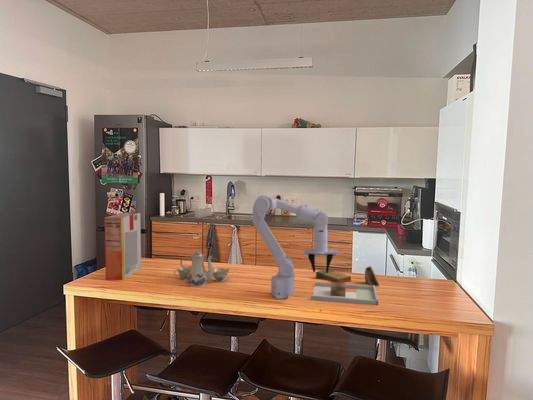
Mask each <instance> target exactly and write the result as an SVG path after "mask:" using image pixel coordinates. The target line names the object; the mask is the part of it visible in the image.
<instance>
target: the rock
mask: <svg viewBox="0 0 533 400" xmlns="http://www.w3.org/2000/svg"><path fill="white" fill-rule="evenodd" d="M364 280H365V283H367V284H368V285H369V286H373V285H375V287H380V284H379V279H378V276H377V274H376V273H375V271H374V269H373V267H372V266H371V265H370V266H367V267H365V270H364Z"/></svg>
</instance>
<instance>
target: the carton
mask: <svg viewBox="0 0 533 400" xmlns="http://www.w3.org/2000/svg"><path fill="white" fill-rule="evenodd" d="M315 279H316V280H321V281H322V280H323V281H330V282H337V283H348V282H352V276H351V275H348V274H344V273H342V272H338V271H335V270H331V269H329V268H328V273H326V269H323V270H317V271H315Z"/></svg>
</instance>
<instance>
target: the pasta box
mask: <svg viewBox="0 0 533 400" xmlns="http://www.w3.org/2000/svg"><path fill="white" fill-rule="evenodd" d="M141 225H142V224H141V212H128V211H127V212H122V213H118V214H114V215H110V216H105V217H104V252H105V254H104V255H105V256H104V257H105V259H104V260H105V262H104V263H105V280H106V281H107V280H108V281H109V280H111V281H112V280H113V281H115V280H116V281H123V280H125V279H126V278H128V277H129V276H131V275H132V274H134V273H135V272H137V271H138V270H141V268H142V244H141V243H142V242H141V241H142V239H141V238H142V236H141V234H142V233H141V231H142V230H141Z"/></svg>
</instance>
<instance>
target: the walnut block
mask: <svg viewBox="0 0 533 400" xmlns="http://www.w3.org/2000/svg"><path fill="white" fill-rule="evenodd" d="M330 283H331V296H342V297H345V292H347V291H346V289H347V288H346V284H347V282H345V283H337V282H332V281H330Z"/></svg>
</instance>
